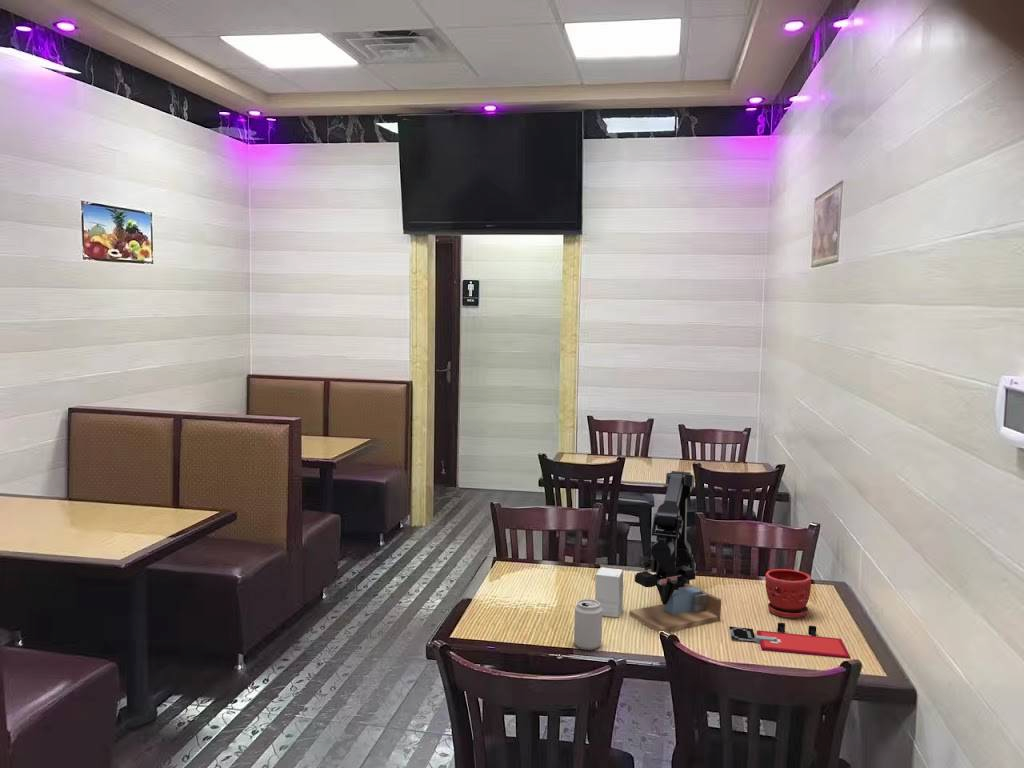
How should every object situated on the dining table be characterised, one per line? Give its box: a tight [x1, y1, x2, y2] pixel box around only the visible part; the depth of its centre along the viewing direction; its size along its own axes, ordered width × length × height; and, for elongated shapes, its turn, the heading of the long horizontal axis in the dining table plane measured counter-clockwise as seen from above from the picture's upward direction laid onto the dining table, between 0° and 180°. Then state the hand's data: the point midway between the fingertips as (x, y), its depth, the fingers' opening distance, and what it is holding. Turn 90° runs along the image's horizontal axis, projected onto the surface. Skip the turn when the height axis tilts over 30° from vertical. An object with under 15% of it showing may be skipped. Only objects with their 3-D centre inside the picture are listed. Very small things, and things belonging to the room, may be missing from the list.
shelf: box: [629, 583, 722, 633], centre depth 231 cm, size 22×15×6 cm
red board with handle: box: [728, 621, 851, 660], centre depth 215 cm, size 30×3×15 cm
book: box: [664, 586, 703, 614], centre depth 234 cm, size 11×4×6 cm, turn 118°
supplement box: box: [594, 566, 624, 618], centre depth 234 cm, size 7×7×13 cm
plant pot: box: [765, 568, 812, 619], centre depth 236 cm, size 13×13×12 cm
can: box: [573, 598, 603, 651], centre depth 210 cm, size 8×8×12 cm
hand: (664, 604), depth 230 cm, fingers closed
